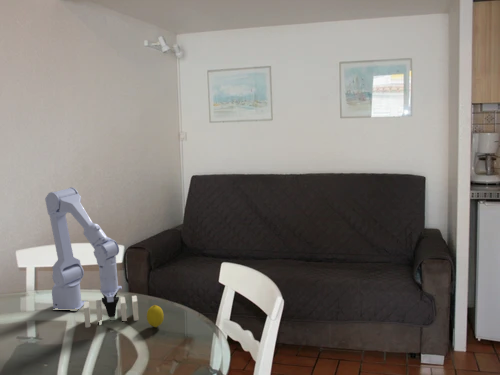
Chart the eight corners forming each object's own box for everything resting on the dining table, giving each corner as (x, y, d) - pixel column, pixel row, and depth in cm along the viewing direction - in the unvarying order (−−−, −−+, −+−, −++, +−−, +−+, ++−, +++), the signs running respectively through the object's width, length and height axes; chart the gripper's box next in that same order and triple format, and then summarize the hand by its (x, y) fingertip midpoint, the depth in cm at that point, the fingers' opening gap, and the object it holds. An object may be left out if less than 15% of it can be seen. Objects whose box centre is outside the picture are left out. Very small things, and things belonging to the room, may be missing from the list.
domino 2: (97, 325, 180) (96, 306, 178) (97, 319, 184) (96, 300, 183) (102, 325, 180) (101, 306, 179) (102, 318, 185) (101, 300, 183)
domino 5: (134, 320, 183) (132, 301, 181) (133, 314, 187) (131, 296, 186) (138, 320, 183) (137, 301, 182) (137, 313, 188) (136, 295, 186)
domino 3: (110, 321, 181) (108, 302, 179) (109, 314, 185) (108, 296, 184) (114, 320, 181) (113, 301, 179) (114, 314, 186) (112, 295, 184)
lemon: (148, 324, 180) (146, 302, 178) (164, 323, 181) (163, 301, 179) (146, 331, 175) (145, 309, 173) (163, 330, 175) (162, 308, 173)
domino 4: (122, 322, 182) (120, 303, 180) (121, 316, 186) (120, 297, 185) (126, 321, 182) (125, 302, 181) (126, 315, 187) (124, 296, 185)
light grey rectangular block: (85, 327, 179) (83, 308, 177) (85, 321, 183) (84, 302, 182) (90, 326, 179) (88, 307, 178) (90, 320, 184) (88, 301, 182)
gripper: (121, 282, 174) (124, 320, 177) (119, 267, 188) (122, 302, 191) (99, 285, 172) (102, 323, 175) (99, 269, 186) (102, 305, 189)
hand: (111, 313), depth 183 cm, fingers closed on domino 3, 5 cm apart
